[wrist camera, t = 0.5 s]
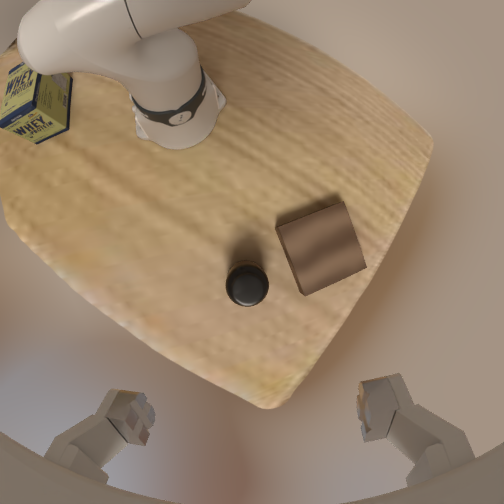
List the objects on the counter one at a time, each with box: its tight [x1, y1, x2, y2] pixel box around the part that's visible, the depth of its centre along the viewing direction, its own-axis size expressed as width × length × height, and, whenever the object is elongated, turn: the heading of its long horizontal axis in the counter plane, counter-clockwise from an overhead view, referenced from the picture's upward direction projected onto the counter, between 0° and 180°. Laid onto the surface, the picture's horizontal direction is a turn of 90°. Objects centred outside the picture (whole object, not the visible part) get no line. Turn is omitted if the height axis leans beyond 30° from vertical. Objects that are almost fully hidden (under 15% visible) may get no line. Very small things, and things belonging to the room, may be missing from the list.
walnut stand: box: [275, 201, 367, 296], centre depth 51 cm, size 13×13×4 cm
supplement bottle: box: [226, 260, 269, 307], centre depth 46 cm, size 7×7×12 cm
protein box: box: [0, 62, 73, 144], centre depth 39 cm, size 10×16×16 cm
